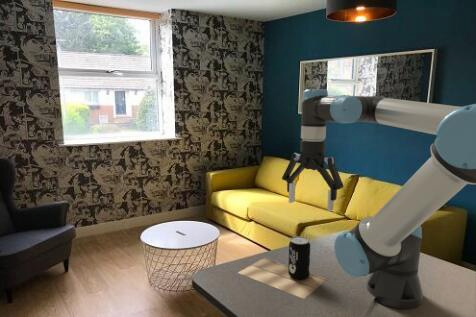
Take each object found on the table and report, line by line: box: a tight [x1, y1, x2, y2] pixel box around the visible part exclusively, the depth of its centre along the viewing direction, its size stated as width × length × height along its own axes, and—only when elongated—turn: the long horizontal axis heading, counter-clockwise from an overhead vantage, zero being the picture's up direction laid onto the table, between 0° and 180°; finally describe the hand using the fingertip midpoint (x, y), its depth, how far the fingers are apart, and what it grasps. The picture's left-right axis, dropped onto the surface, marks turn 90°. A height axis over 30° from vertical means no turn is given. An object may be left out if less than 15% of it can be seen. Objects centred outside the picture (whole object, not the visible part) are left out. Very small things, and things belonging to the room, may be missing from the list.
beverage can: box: [288, 235, 311, 280], centre depth 113 cm, size 7×7×12 cm
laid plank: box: [237, 264, 317, 300], centre depth 111 cm, size 24×7×1 cm, turn 51°
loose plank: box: [251, 257, 328, 290], centre depth 116 cm, size 24×7×1 cm, turn 51°
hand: (310, 206), depth 115 cm, fingers open, 13 cm apart
